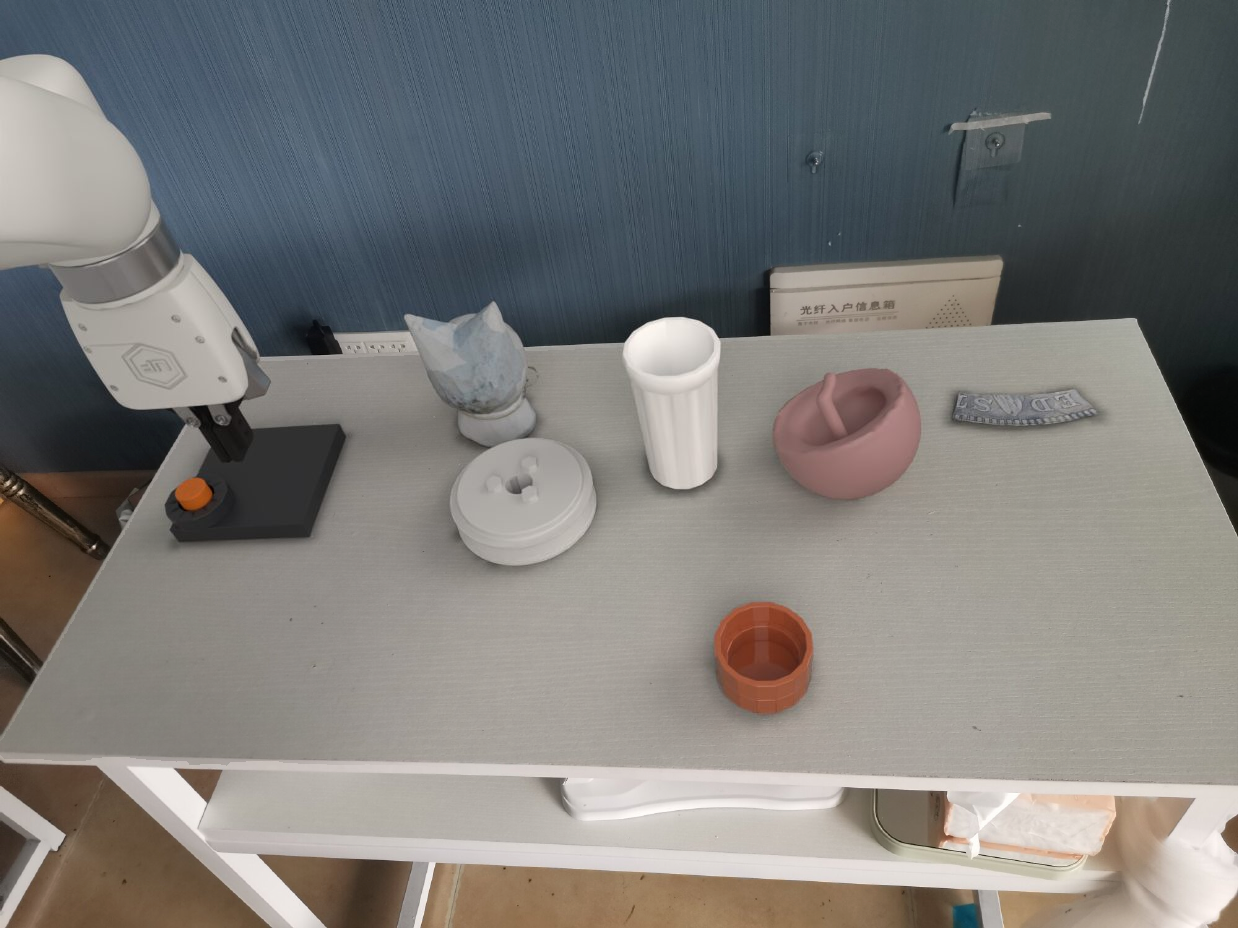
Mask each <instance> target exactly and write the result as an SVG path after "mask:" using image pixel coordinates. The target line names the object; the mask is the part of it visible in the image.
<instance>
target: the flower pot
mask: <svg viewBox="0 0 1238 928" xmlns="http://www.w3.org/2000/svg"><path fill="white" fill-rule="evenodd" d="M812 635H813V634H812V632H811V631H810V628H809V626H808V625H807V624H806V622H805V620H804V619H803V618H802V617H801V616H800V615H799V614H797V613H796V612H794V611H793V610H791V609H790V607H787V606H784V605H782V604H778V603H775V602H771V601H756V602H748V603H746V604H743V605H741V606H738V607H735V608H733V609H732V610H731V611H730V612H729V613H728V614H727V615H726V616H725V617H723V618H722V619H721V620H720V622H719V625H718V627H717V629H716V631H715V634H714V642H713V643H714V658H715V670H716V680H717V682H718V684H719V686H720V688H721V690H722V692H723V694H724V695H725V697H727V699H729V700H730V701H731V702H732V703H733V704H735V705H736V706H737V707H739V708H741V709H743V710H746V711H749V712H752V713H755V714H776V713H781V712H783V711H785V710H788V709H791V708H792V707H794V706H795V705H796V704H797V703H799V701H801V700H802V699H803V697H805V695H806V694H807V693H808V690H809V688H810V687H809V686H810V684H811V682H812V676H813V662H814V661H813V659H814V644H813V636H812Z"/></svg>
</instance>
